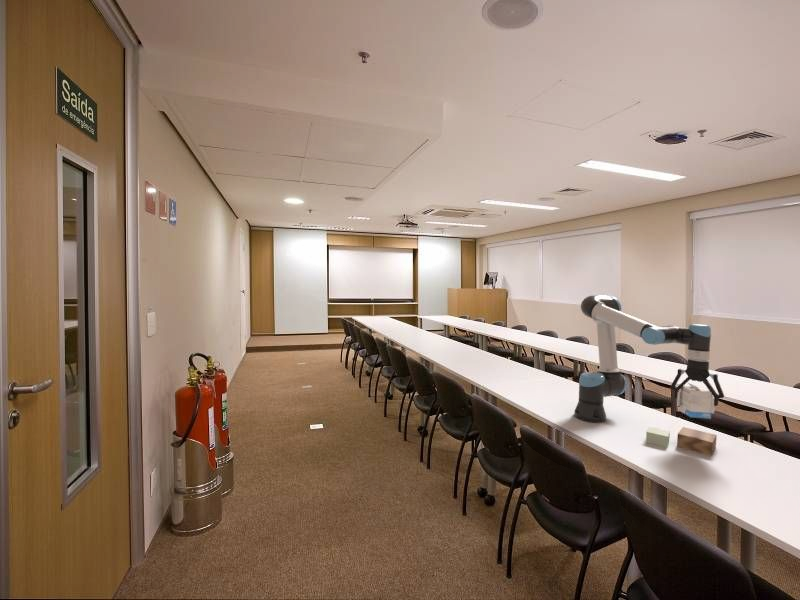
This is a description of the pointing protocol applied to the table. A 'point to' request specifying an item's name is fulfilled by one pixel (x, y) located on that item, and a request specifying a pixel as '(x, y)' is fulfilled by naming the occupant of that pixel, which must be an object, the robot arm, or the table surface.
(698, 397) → the ink box
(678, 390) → the robot arm
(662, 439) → the sage block
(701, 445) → the walnut block
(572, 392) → the table surface
